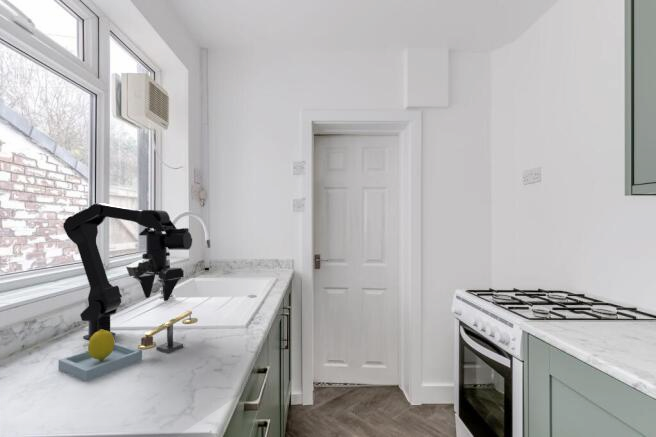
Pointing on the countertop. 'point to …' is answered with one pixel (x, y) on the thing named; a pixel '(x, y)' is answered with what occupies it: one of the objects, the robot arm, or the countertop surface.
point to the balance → (170, 345)
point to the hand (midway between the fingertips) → (156, 299)
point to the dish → (99, 362)
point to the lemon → (101, 345)
